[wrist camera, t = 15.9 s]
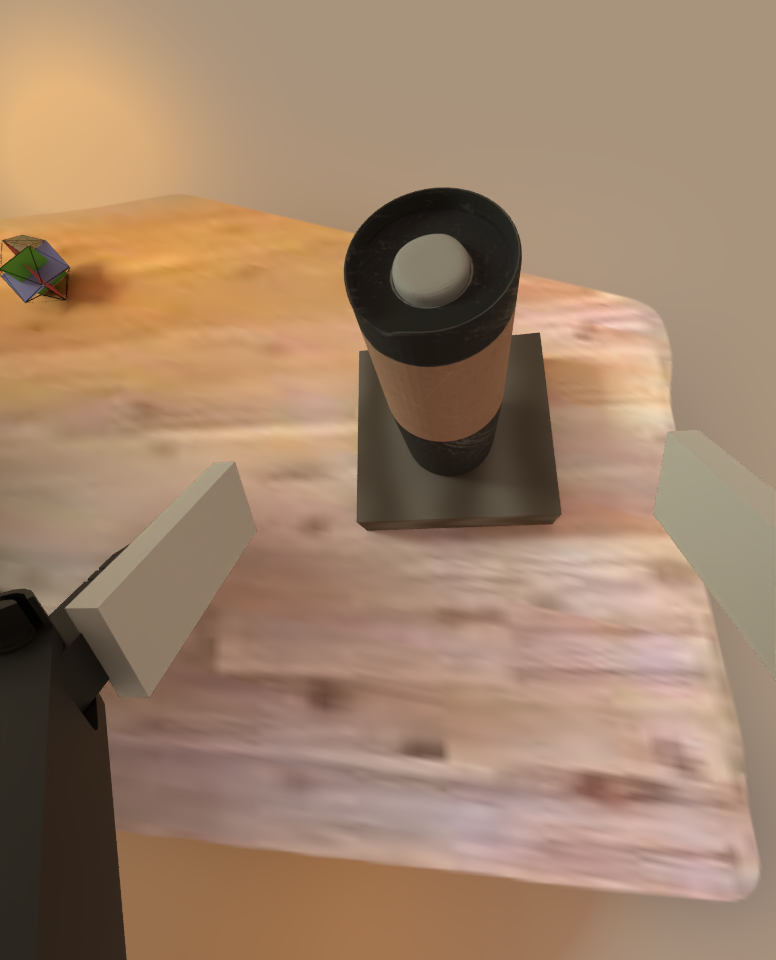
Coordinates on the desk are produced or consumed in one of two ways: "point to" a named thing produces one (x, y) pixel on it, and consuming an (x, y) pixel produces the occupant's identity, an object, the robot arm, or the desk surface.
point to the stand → (474, 495)
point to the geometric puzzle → (33, 267)
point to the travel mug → (438, 318)
